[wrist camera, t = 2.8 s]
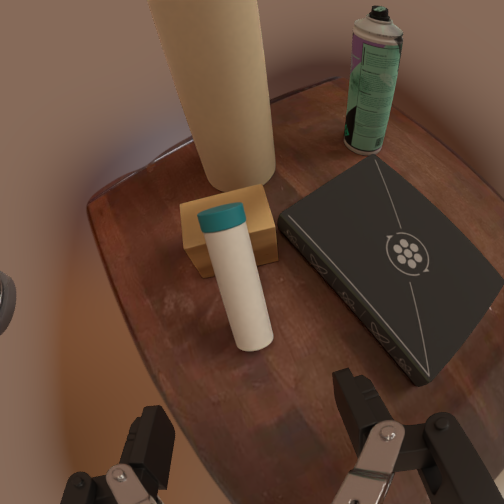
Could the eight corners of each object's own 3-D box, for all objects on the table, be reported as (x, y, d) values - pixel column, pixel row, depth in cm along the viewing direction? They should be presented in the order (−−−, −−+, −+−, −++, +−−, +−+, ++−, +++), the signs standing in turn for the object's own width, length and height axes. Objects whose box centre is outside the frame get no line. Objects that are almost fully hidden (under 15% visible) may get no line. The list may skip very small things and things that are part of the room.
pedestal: (259, 201, 35) (221, -10, 14) (193, 184, 38) (125, 7, 17) (285, 150, 39) (269, -29, 18) (225, 139, 41) (184, -21, 20)
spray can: (382, 135, 38) (404, 8, 21) (380, 159, 36) (408, 20, 19) (346, 126, 40) (355, -2, 22) (340, 150, 38) (352, 8, 20)
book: (277, 231, 33) (275, 215, 30) (368, 169, 36) (372, 152, 33) (414, 388, 23) (426, 386, 21) (492, 292, 26) (505, 281, 23)
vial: (278, 350, 27) (270, 319, 17) (239, 358, 27) (210, 333, 17) (253, 248, 32) (237, 180, 23) (220, 257, 32) (191, 192, 23)
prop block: (278, 261, 31) (275, 226, 26) (203, 279, 31) (183, 249, 26) (267, 221, 34) (262, 183, 28) (197, 238, 34) (179, 204, 28)
